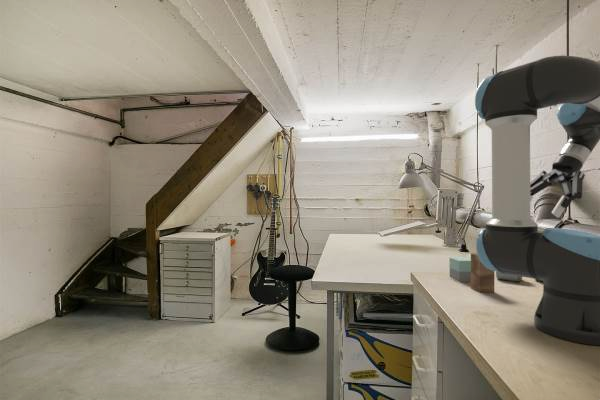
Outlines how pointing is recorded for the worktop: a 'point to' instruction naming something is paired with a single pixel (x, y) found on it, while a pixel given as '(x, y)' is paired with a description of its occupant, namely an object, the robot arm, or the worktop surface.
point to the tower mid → (460, 264)
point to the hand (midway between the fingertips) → (536, 212)
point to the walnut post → (481, 276)
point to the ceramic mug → (508, 277)
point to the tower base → (460, 275)
